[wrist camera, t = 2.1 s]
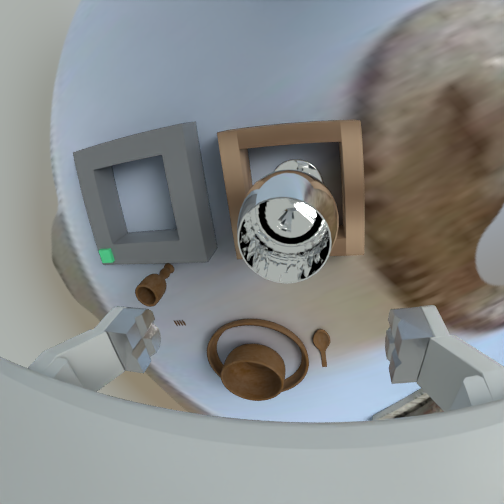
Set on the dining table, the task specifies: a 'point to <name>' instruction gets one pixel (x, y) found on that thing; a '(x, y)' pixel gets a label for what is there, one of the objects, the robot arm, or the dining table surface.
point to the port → (180, 188)
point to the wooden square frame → (341, 131)
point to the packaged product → (410, 407)
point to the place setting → (243, 351)
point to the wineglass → (288, 223)
